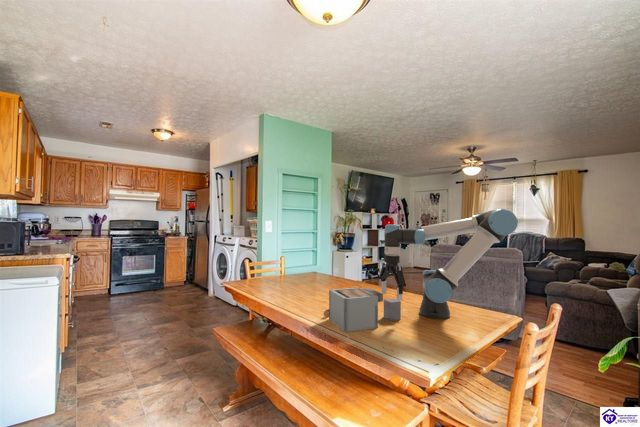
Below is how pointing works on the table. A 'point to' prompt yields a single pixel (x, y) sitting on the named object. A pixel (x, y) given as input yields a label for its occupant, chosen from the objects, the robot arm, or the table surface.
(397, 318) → the basalt block
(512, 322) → the table surface
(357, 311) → the grey box
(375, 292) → the trapdoor
